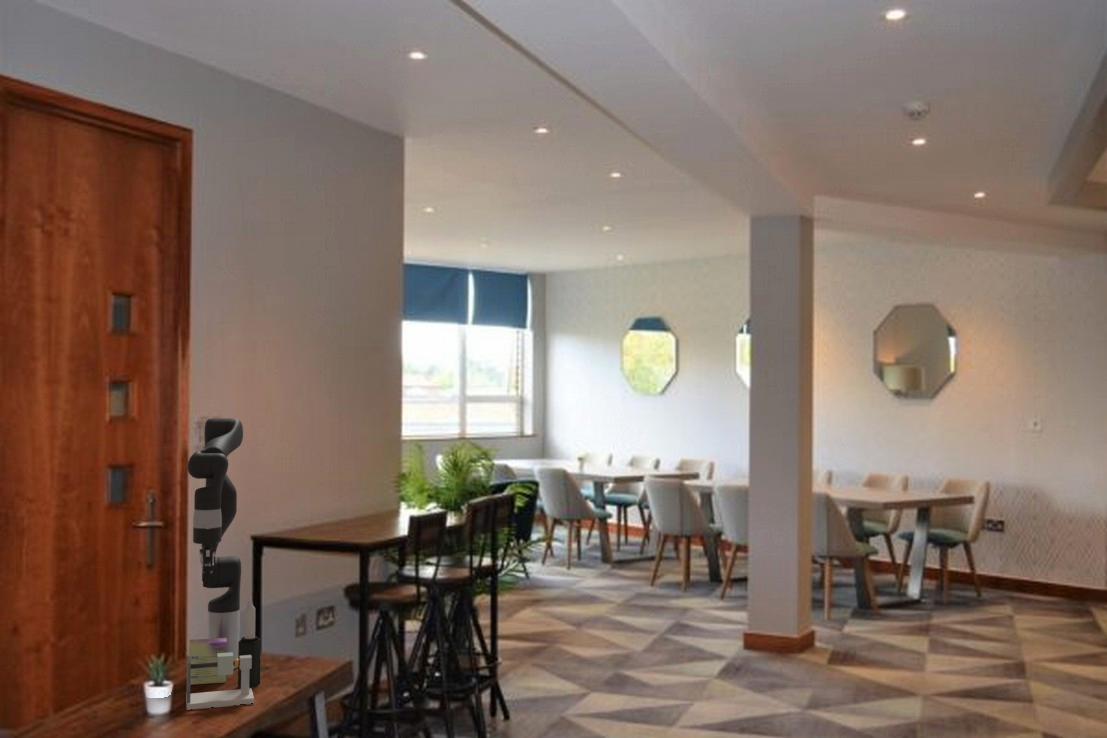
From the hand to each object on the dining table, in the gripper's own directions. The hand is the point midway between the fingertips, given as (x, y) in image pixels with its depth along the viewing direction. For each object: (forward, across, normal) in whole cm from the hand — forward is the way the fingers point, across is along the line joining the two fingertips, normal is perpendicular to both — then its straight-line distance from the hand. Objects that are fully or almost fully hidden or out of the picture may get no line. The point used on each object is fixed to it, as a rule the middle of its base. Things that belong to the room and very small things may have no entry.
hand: (206, 584), depth 290 cm
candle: (+30, -5, +12) cm, 33 cm away
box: (+30, -13, +1) cm, 33 cm away
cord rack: (+30, +9, +4) cm, 32 cm away
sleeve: (+23, +9, +5) cm, 25 cm away
